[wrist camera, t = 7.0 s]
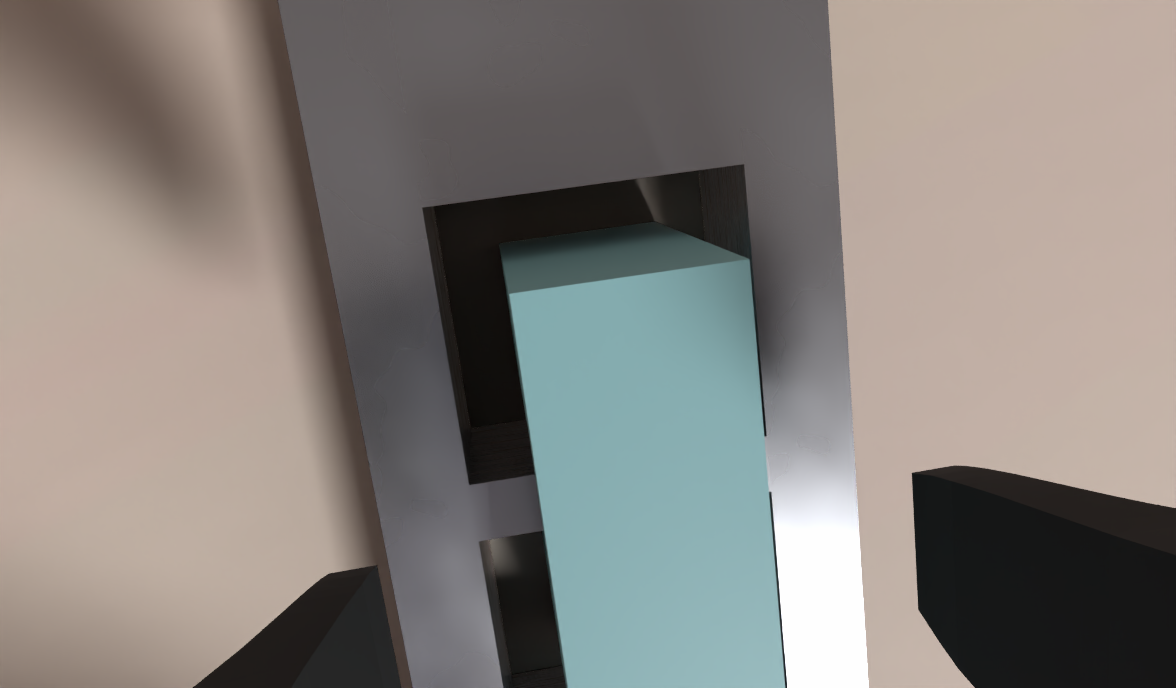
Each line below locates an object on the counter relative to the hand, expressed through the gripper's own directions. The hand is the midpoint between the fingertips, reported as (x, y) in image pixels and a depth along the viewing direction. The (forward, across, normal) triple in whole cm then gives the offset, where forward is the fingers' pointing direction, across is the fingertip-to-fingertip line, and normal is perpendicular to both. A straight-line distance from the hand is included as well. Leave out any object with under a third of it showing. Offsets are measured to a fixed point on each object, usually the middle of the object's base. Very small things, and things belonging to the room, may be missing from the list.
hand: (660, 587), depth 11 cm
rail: (+6, 0, 0) cm, 6 cm away
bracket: (+6, 0, 0) cm, 6 cm away
